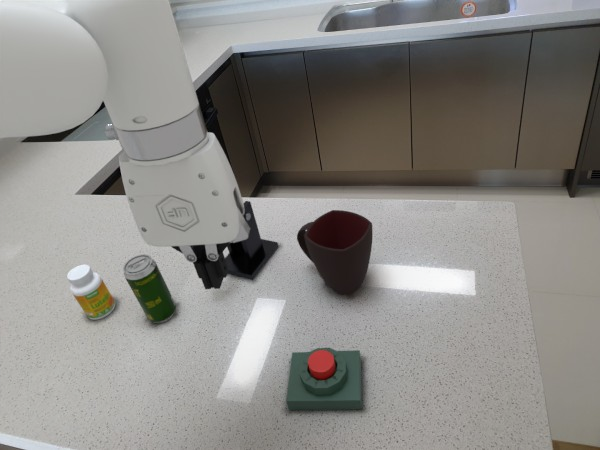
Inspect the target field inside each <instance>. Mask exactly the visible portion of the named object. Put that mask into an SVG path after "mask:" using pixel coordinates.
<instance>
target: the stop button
mask: <svg viewBox="0 0 600 450" xmlns="http://www.w3.org/2000/svg"><path fill="white" fill-rule="evenodd" d="M308 366H309V370H310V373H311V375H312V376H313V377H314V378H316V379H319V380H324V379H328V378H330V377H331V376H332V375H333V374H334V372H335V369H336V366H335V361H334V357H333V355H332V354H331V353H330V352H328V351H325V350H319V351H316V352H314V353H313V354H311V356H310V357H309V359H308Z"/></svg>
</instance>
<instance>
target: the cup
mask: <svg viewBox="0 0 600 450" xmlns="http://www.w3.org/2000/svg"><path fill="white" fill-rule="evenodd" d="M373 235H374V233H373V222H372V221H371V220H370V219H368V218H367V217H365V216H363V215H361V214H359V213H357V212H353V211H349V210H340V209H332V210H330V211H328V212H325V213H323V214H322V215H320V216H319V217H318V218H315V220H314V221H310V222H307V223H305V224H303V225H302V226H301V227H300V228H299V229H298V232H297V234H296V240H297V243H298V245H299V247H300V249H301V251H302V253H304V255H305V256H306V257H307V258H308V259H309V260H310V261H311V262H312V263H313V264H314V266H315V269H316V271H317V273H318V274H319V276H320V278H321V279H322V281H323V282H324V283H325V285H326V286H327V287H328V288H329V289H330V290H331V291H333V292H335V293H337V294H339V295H343V296H344V295H345V296H350V295H352V294H354V293H356V292H358V290H359V289H360V288H361V287H362V286H363V284H364V283H365V279H366V277H367V273H368V270H369V265H370V260H371V254H372V247H373Z"/></svg>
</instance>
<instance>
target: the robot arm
mask: <svg viewBox="0 0 600 450" xmlns="http://www.w3.org/2000/svg"><path fill="white" fill-rule="evenodd" d="M102 103H104V106H105V109H106V111H107V113H108V116H109V118H110V120H111V124H106V125H105V127H104V134H105V137H106V138H107V139H108V140H115V141H118V142H119V145H120V147H121V149H122V150H123V151H122V152H121V153H120V154H119V155H118V163H119V169H120V173H121V180H122V184H123V187H124V188H123V189H124V192H125V197H126V200H127V203H128V206H129V209H130V212H131V214H132V217H133V220H134V223H135V225H136V228H137V230H138V232H139V235H140V236H141V238H142V240H143V241H144V242H145V244H147V245H149V246H152V247H157V248H162V247H163V248H164V247H165V248H166V247H168V248H169V247H171V248H172V249H174V250H176V251H177V252H179V253H181V254H182V255H183V256H184V258H185V260H186V261H187V262H189V263H192V264H193V266H194V269H195V272H196V274H197V277H198V279H201V282H202V284H203V287H204V290H211V289H215V290H220V289H221V287H222V285H223V281H224V278H227V276H228V274H227V273H228V267H227V263H226V260H225V258H226V257H225V254H224V251H225V250H226V249H227V246H228V245H229V243H232V242H233V243H235V242H239V241H243V240H246V239H247V238H248V236H249V233H250V227H249V225H248V224H247V222H246V220H245V218H244V217H243V215H244V213H245V209H244V204H243V203H244V200H243V196H242V194H241V190H240V188H239V184H238V182H237V179H236V177H235V174H234V172H233V169H232V166H231V164H230V162H229V159H228V157H227V154H226V153H225V151H224V149H223V147H222V145H221V143H220V141H219V140H218V138H217V136H216V135H215V133H214V132H210V131H209V132H208V129H207V126H206V122H205V119H204V116H203V112H202V109H201V105H200V102H199V99H198V95H197V92H196V88H195V86H194V82H193V79H192V75H191V71H190V68H189V64H188V62H187V59H186V55H185V52H184V48H183V45H182V41H181V38H180V35H179V31H178V27H177V24H176V21H175V17H174V14H173V10H172V6H171V3H170V0H0V139H8V138H27V137H39V136H47V135H48V136H49V135H52V134H59V133H62V132H65V131H69V130H71V129H74V128H76V127H78V126H80V125H82V124H84V123H85V122H87V121H88V120H90V119H91V118H92V117H93V116H94V115H95V113H96V112H97V111H98V110H99V109H100V107H101V105H102ZM224 224H225V225H224Z"/></svg>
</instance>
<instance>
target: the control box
mask: <svg viewBox="0 0 600 450" xmlns="http://www.w3.org/2000/svg"><path fill="white" fill-rule="evenodd" d="M319 350H325V351H328V352H330V353H331V354H332V355H333V357H334V361H335V366H336V369H335V372H334V374H333V375H332V376H331V377H330V378H328V379H324V380H319V379H316V378H314V377H313V376H312V375H311V373H310V370H309V366H308V359H309V357H310V356H311V354H313V353H314V352H316V351H319ZM362 391H363V390H362V358H361V350H360V349H358V350H335V349H334V348H331V347H317V348H315V349H312V350H310V351H298V352H297V351H296V352H295V351H294V352H291V360H290V369H289V376H288V385H287V392H286V399H285V402H286V405H287V407H288V410H289V411H310V410H311V411H316V410H318V411H320V410H322V411H323V410H327V411H328V410H331V411H332V410H362V409H363V405H362V404H363V400H362V399H363V398H362V397H363V395H362V394H363V393H362Z"/></svg>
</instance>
